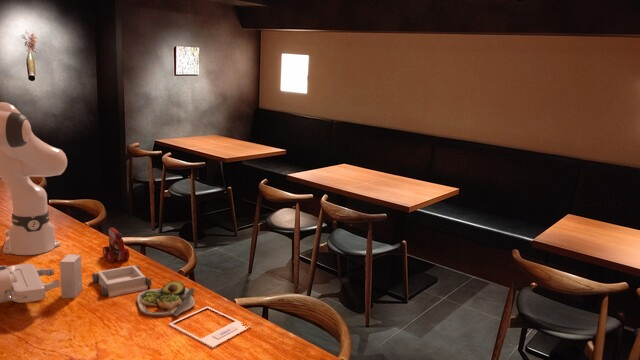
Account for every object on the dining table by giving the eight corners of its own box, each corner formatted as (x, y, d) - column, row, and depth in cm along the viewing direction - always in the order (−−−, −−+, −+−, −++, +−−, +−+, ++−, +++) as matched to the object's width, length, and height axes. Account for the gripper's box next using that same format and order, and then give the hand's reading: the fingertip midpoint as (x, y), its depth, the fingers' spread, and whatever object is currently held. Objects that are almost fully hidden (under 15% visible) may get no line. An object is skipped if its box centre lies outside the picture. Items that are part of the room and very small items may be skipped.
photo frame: (212, 346, 134) (168, 323, 144) (212, 350, 134) (168, 326, 144) (250, 325, 146) (207, 305, 156) (250, 329, 146) (207, 309, 156)
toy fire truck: (112, 265, 181) (111, 238, 178) (101, 254, 190) (100, 227, 187) (131, 262, 185) (131, 235, 183) (120, 251, 194) (119, 225, 192)
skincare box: (68, 289, 160) (67, 253, 158) (82, 289, 161) (81, 254, 158) (60, 298, 154) (59, 261, 152) (75, 298, 155) (74, 262, 152)
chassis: (91, 280, 168) (91, 270, 167) (136, 271, 177) (136, 262, 176) (104, 298, 157) (104, 287, 156) (151, 288, 165) (151, 278, 165)
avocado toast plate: (203, 317, 151) (204, 303, 150) (140, 325, 143) (140, 310, 142) (192, 289, 168) (192, 276, 167) (135, 295, 161) (135, 282, 160)
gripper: (7, 290, 137) (63, 280, 145) (-2, 263, 152) (49, 256, 161) (8, 311, 138) (64, 300, 147) (-1, 283, 154) (50, 274, 162)
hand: (56, 277), depth 154 cm, fingers open, 8 cm apart
